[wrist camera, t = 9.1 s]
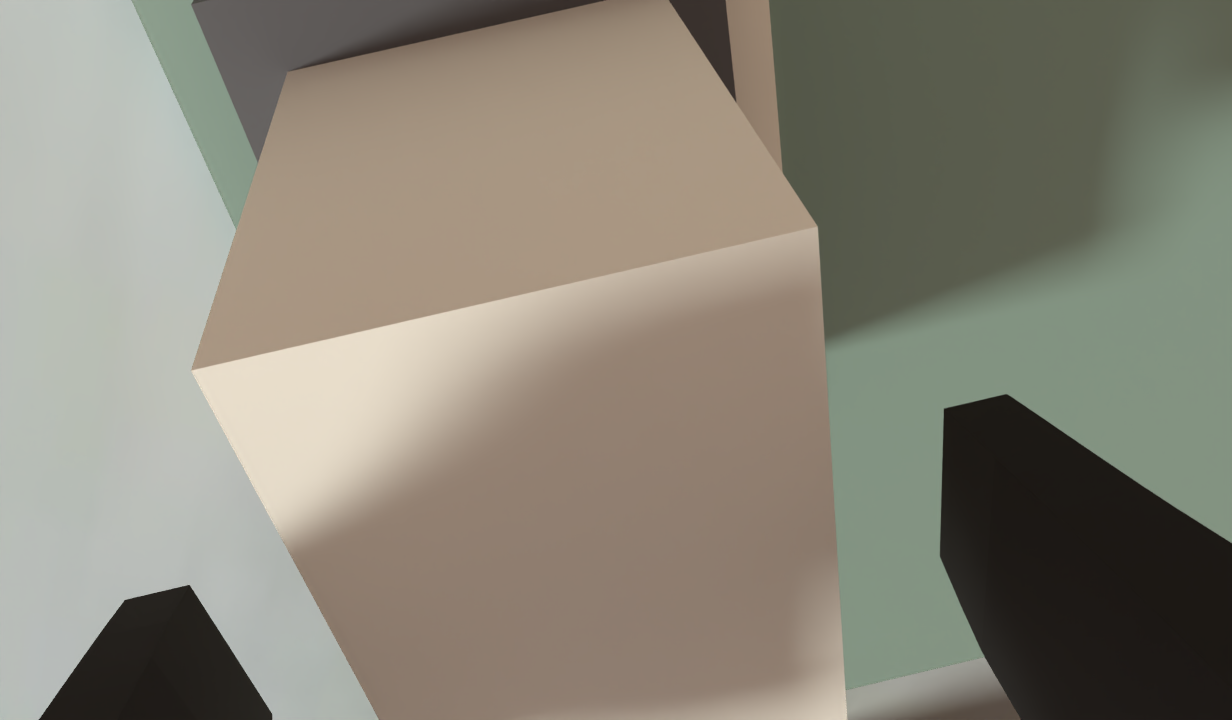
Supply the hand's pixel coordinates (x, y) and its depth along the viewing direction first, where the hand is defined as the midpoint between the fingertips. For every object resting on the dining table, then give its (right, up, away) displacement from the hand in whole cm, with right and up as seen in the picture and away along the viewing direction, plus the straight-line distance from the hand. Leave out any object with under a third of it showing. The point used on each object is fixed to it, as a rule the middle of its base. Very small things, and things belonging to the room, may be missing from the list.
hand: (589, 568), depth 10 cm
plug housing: (-1, +3, +4) cm, 5 cm away
